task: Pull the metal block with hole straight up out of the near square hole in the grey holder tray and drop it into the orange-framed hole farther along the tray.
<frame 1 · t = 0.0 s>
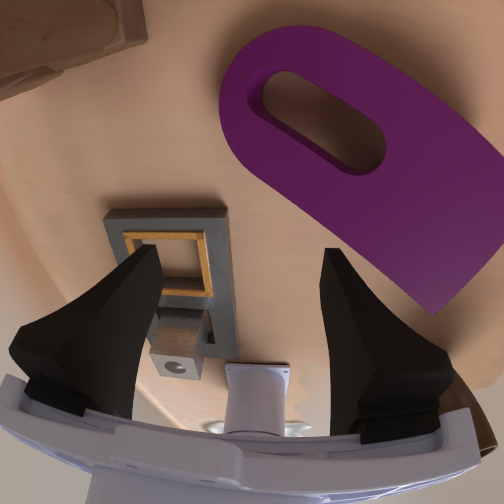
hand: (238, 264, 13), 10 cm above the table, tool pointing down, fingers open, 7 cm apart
wooden block: (81, 43, 15), on the table
metal block with hole: (188, 314, 31), resting in grey holder tray
mounting bracket: (355, 132, 19), on the table
grey holder tray: (182, 291, 29), on the table
plant pot: (420, 366, 36), on the table
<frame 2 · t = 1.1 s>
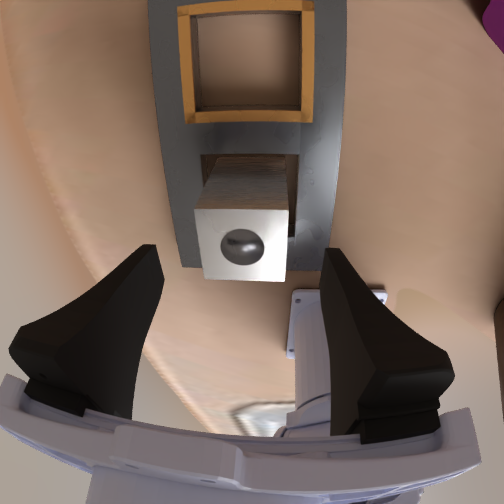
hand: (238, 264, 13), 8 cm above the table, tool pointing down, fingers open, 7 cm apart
metal block with hole: (252, 186, 19), resting in grey holder tray
grey holder tray: (250, 133, 17), on the table
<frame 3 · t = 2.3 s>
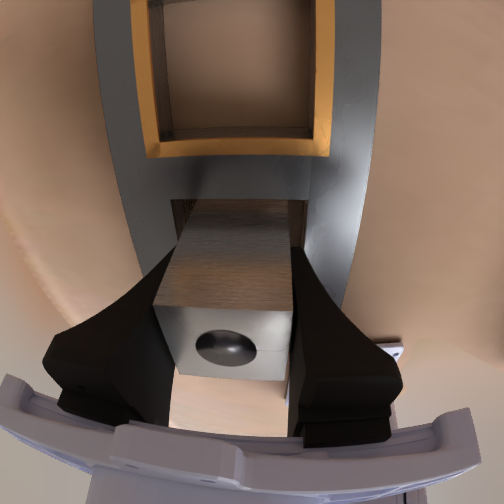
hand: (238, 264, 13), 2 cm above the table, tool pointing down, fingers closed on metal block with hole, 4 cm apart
metal block with hole: (243, 234, 15), resting in grey holder tray, touching gripper
grey holder tray: (240, 166, 13), on the table
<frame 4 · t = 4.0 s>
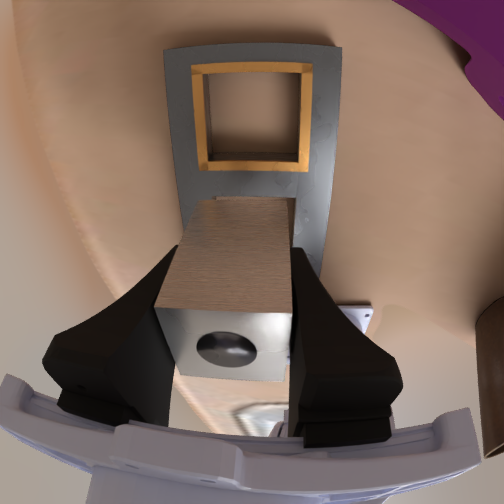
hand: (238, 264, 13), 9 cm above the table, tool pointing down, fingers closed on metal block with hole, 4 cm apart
metal block with hole: (243, 236, 15), point 7 cm above the table, touching gripper
mounting bracket: (456, 1, 11), on the table
grey holder tray: (254, 176, 20), on the table
plant pot: (498, 314, 28), on the table
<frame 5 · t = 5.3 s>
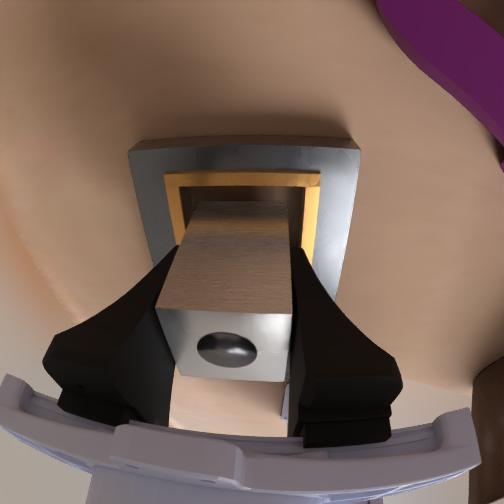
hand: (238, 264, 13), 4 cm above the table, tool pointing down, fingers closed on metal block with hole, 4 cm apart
metal block with hole: (243, 237, 15), point 1 cm above the table, touching gripper
mounting bracket: (502, 65, 9), on the table
grey holder tray: (248, 283, 19), on the table
plant pot: (497, 369, 26), on the table
when the fingers open (3 cm above the table, at t = 6.2 s): metal block with hole stays where it is, resting in grey holder tray.
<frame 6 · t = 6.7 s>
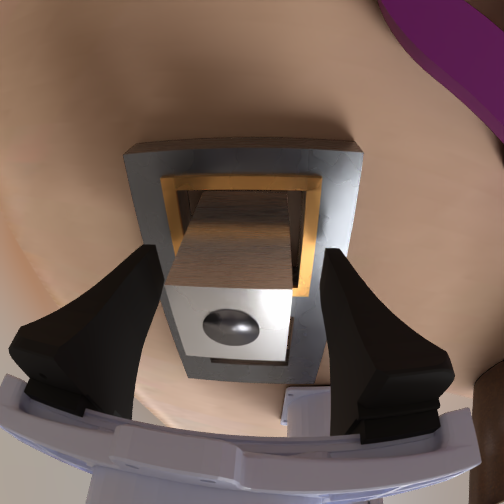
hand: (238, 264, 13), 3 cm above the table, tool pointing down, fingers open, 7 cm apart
metal block with hole: (246, 226, 16), resting in grey holder tray
grey holder tray: (248, 288, 18), on the table
plant pot: (498, 371, 26), on the table
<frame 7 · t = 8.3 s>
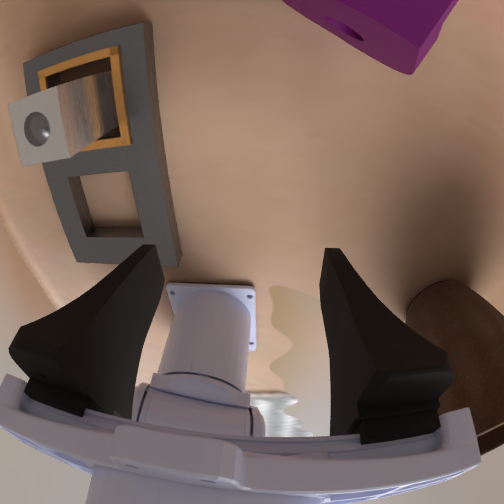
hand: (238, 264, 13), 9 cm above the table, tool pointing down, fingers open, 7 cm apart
metal block with hole: (93, 101, 17), resting in grey holder tray
grey holder tray: (103, 156, 20), on the table
plant pot: (438, 304, 27), on the table
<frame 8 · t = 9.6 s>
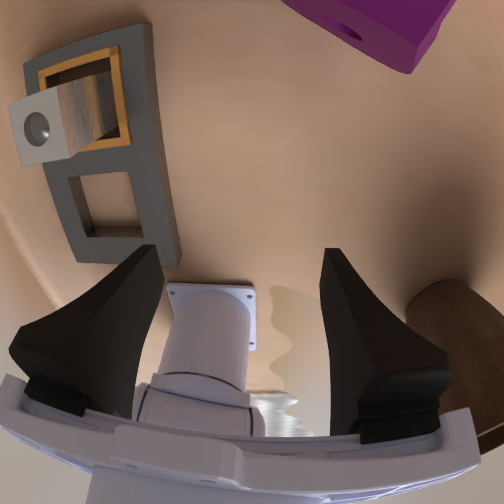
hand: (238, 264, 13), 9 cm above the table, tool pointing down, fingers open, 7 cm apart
metal block with hole: (93, 101, 17), resting in grey holder tray
grey holder tray: (103, 156, 20), on the table
plant pot: (438, 304, 27), on the table
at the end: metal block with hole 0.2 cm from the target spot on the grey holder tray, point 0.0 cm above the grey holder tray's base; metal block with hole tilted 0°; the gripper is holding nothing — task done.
